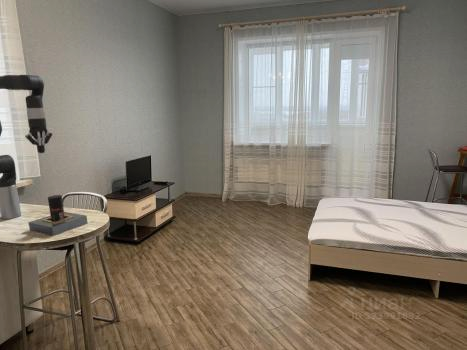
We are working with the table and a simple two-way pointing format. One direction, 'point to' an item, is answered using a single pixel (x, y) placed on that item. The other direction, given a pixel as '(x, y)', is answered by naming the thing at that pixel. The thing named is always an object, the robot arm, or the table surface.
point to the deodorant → (56, 208)
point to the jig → (57, 224)
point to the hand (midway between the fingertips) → (41, 152)
